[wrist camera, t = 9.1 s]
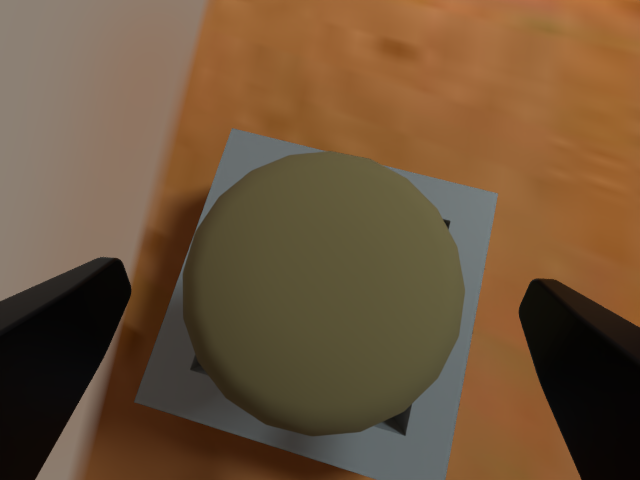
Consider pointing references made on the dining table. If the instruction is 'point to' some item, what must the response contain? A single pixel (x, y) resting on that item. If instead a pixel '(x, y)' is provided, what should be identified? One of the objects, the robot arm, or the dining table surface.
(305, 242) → the cork
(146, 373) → the box
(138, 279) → the dining table surface
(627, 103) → the dining table surface
